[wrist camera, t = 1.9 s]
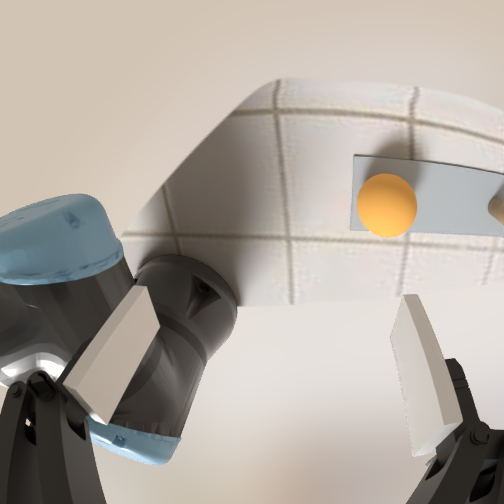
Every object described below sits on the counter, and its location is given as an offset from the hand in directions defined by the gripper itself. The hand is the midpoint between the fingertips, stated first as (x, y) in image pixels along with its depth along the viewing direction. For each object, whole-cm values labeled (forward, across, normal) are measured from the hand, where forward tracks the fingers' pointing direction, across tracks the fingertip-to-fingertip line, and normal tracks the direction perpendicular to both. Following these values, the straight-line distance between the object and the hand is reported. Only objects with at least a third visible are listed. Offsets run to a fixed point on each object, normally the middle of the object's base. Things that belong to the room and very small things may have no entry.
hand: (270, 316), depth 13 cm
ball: (+15, +10, 0) cm, 18 cm away
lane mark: (+18, +20, 0) cm, 27 cm away
